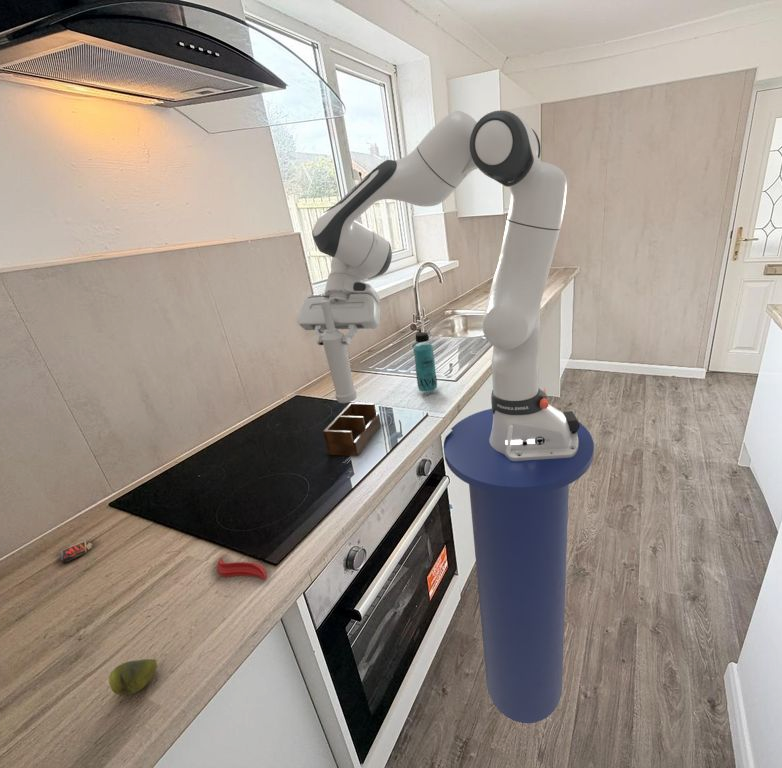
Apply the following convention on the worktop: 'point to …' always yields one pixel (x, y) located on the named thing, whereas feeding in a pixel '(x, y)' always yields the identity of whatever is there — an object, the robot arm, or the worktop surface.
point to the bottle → (337, 358)
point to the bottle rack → (352, 429)
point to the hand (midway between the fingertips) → (333, 344)
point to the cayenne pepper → (241, 569)
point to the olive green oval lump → (132, 676)
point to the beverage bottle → (425, 363)
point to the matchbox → (74, 551)
